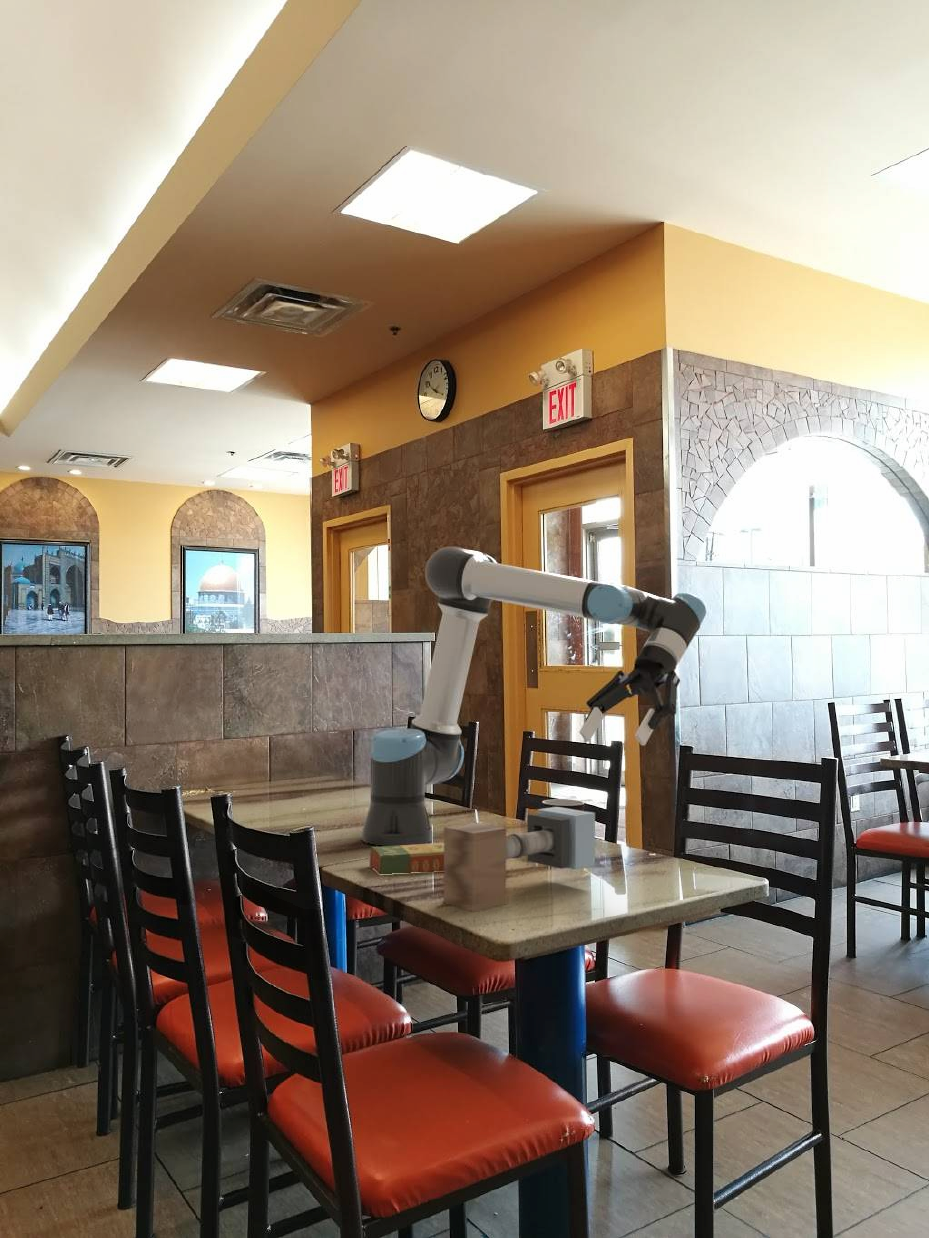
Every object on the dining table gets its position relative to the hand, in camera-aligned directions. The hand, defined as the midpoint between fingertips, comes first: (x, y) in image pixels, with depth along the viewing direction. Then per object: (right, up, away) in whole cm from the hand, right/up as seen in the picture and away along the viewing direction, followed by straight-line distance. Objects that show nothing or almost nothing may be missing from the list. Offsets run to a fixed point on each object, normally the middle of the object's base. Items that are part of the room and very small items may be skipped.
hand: (610, 738), depth 175 cm
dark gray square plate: (-13, -20, -12) cm, 27 cm away
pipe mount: (-17, -24, -16) cm, 33 cm away
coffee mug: (-7, -26, +20) cm, 33 cm away
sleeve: (-9, -21, -10) cm, 24 cm away
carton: (-36, -25, +1) cm, 44 cm away
